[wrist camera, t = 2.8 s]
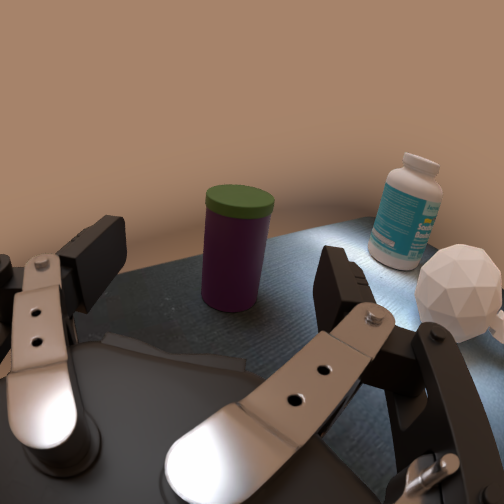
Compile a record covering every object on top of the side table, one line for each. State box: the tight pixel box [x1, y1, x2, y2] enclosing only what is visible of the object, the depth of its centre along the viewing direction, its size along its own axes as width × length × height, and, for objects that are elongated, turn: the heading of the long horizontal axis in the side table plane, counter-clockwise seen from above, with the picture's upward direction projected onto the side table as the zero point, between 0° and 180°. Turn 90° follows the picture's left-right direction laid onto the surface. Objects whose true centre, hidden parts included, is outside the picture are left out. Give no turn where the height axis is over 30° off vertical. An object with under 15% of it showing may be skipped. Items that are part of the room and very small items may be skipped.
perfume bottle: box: [414, 244, 504, 344], centre depth 22 cm, size 9×9×12 cm
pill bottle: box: [368, 152, 443, 270], centre depth 34 cm, size 8×7×14 cm
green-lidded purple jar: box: [201, 185, 275, 312], centre depth 24 cm, size 5×5×9 cm
